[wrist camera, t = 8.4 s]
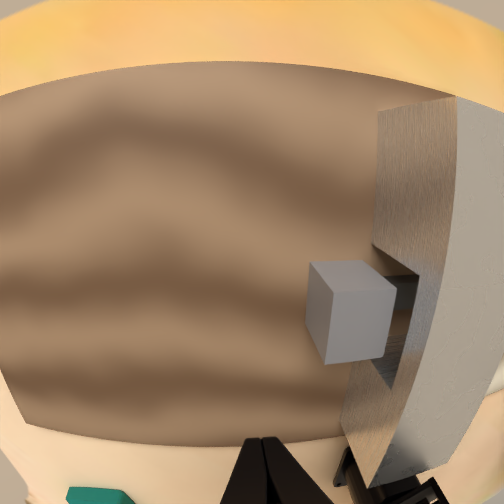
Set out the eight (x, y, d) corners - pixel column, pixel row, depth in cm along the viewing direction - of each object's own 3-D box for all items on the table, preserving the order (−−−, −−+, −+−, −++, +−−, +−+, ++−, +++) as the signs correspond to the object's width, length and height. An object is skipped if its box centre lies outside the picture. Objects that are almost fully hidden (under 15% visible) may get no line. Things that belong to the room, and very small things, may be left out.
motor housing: (409, 405, 21) (446, 462, 15) (338, 419, 20) (367, 488, 14) (461, 129, 15) (543, 130, 9) (377, 111, 15) (456, 96, 8)
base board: (554, 357, 25) (559, 360, 24) (30, 415, 20) (26, 423, 19) (597, 163, 18) (603, 164, 17) (-34, 112, 13) (-43, 111, 12)
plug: (521, 297, 19) (552, 317, 15) (304, 326, 18) (323, 368, 14) (532, 251, 18) (566, 267, 14) (309, 257, 17) (334, 288, 13)
